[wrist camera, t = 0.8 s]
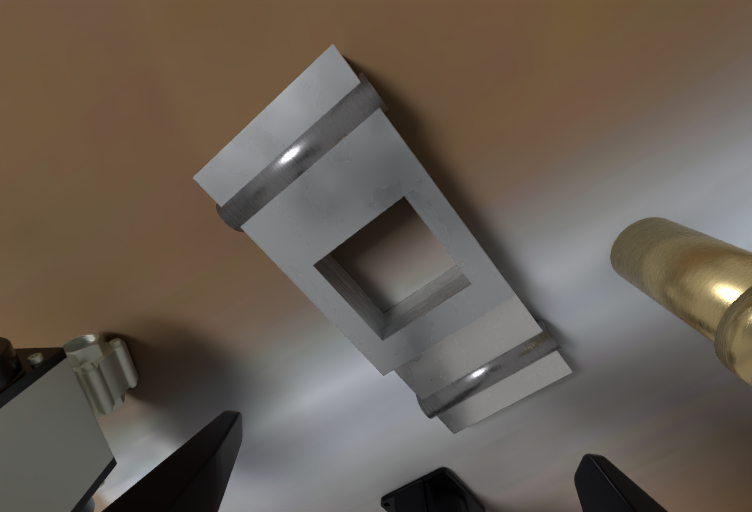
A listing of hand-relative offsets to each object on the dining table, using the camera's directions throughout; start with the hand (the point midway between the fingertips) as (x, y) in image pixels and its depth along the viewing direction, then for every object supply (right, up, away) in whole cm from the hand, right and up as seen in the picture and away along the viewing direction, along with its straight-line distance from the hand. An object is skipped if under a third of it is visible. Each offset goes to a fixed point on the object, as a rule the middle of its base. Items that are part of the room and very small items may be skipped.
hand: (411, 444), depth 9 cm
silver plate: (+1, +4, +13) cm, 13 cm away
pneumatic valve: (-20, -2, +16) cm, 26 cm away
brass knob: (+15, +5, +12) cm, 20 cm away
